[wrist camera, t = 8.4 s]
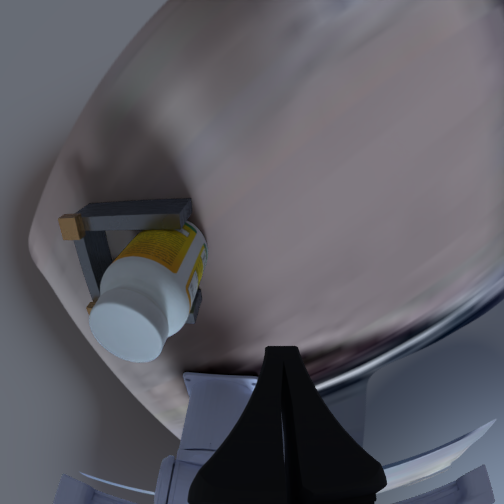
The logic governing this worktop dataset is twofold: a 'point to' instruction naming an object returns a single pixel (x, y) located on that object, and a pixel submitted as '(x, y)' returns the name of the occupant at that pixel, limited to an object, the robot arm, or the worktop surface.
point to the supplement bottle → (149, 292)
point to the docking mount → (120, 218)
